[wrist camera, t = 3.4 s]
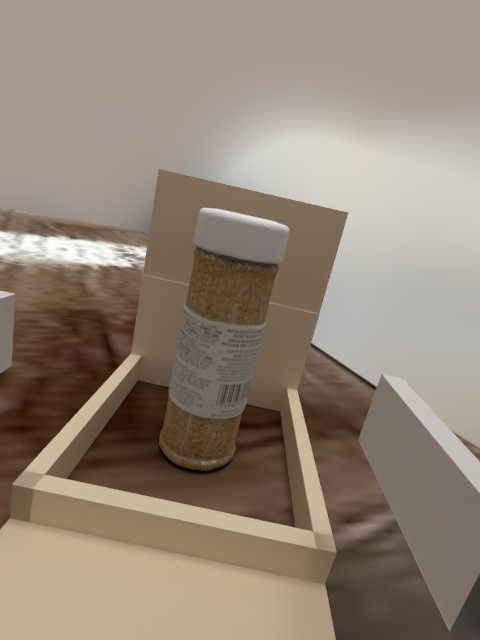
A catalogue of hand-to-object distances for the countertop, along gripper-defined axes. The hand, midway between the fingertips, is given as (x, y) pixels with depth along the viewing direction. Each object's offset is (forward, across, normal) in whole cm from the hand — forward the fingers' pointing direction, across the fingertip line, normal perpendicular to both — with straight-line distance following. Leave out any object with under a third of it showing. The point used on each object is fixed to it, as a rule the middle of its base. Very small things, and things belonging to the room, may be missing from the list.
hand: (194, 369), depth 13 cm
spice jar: (+7, 0, -8) cm, 10 cm away
